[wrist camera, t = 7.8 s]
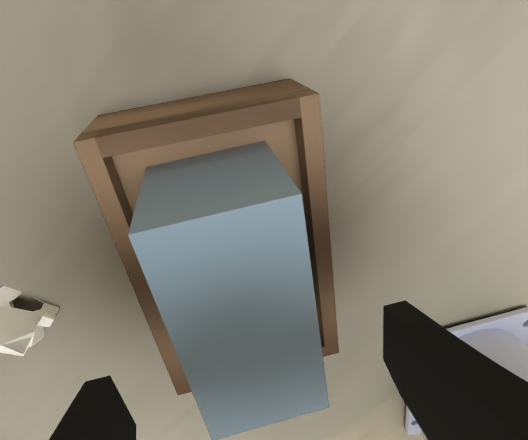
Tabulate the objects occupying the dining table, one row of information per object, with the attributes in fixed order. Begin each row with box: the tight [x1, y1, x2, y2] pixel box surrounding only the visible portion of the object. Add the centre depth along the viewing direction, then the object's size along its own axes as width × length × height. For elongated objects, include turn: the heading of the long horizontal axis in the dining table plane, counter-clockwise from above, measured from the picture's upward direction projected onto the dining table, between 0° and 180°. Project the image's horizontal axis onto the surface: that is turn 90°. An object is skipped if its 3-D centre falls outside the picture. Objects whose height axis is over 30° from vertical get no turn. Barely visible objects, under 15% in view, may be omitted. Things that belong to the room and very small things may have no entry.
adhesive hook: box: [0, 286, 60, 356], centre depth 16 cm, size 3×3×3 cm
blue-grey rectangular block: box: [128, 141, 329, 440], centre depth 12 cm, size 8×4×4 cm, turn 9°
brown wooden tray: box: [73, 79, 339, 395], centre depth 15 cm, size 11×7×4 cm, turn 9°
